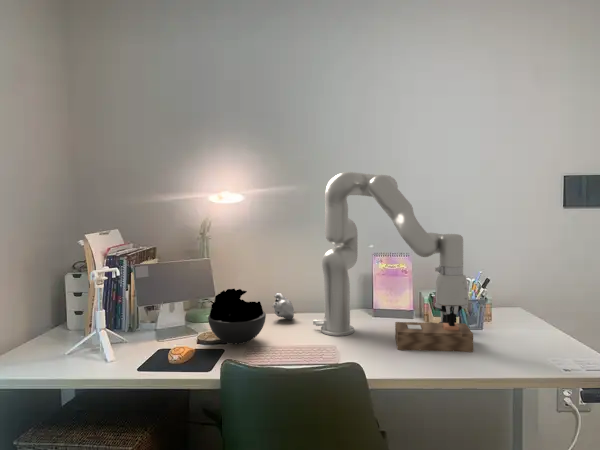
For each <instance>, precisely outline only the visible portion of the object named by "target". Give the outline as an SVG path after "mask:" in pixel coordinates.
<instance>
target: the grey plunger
mask: <svg viewBox="0 0 600 450" xmlns="http://www.w3.org/2000/svg"><path fill="white" fill-rule="evenodd" d="M407 329H419V330H422V328H421V326H420V325H407Z"/></svg>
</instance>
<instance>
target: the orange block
mask: <svg viewBox="0 0 600 450" xmlns="http://www.w3.org/2000/svg"><path fill="white" fill-rule="evenodd" d="M443 329H444V330H459V326H458V325H457V322H456V323H455V326H449V324H448V323H443Z"/></svg>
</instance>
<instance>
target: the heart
mask: <svg viewBox="0 0 600 450" xmlns="http://www.w3.org/2000/svg"><path fill="white" fill-rule="evenodd" d="M273 297H274V298H275V300H274V301H275V302H273V303H272V305H271V307H272V308H273V311H274V314H275V315H276V316H277V317H279V318H283V319H286V320H290V321H292V320H293V319H294V316H295V310H294V306H293V303H292V300H290V299H288V297H286V296H284V295H283V293H281V292H280V293H275V295H274V296H273Z"/></svg>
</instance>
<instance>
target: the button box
mask: <svg viewBox="0 0 600 450" xmlns="http://www.w3.org/2000/svg"><path fill="white" fill-rule="evenodd" d="M456 323H457V322H456ZM394 325H395V326H394V327H395V330H394V331H395V332H394V334H395V335H394V337H395V338H394V339H395V343H396V349H397V350H398V351H420V352H421V351H426V352H431V351H432V352H454V353H455V352H456V353H457V352H459V353H474V333H473V331H472V330H471V328H470V327H469V326H468V325H467V324H466V323H459V322H458V323H457V325H458V326H459V330H444V329H443V323H439V322H413V321H411V322H410V321H408V322H407V321H396V322H394ZM407 325H420V326H421V328H422V330H419V329H407Z"/></svg>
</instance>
